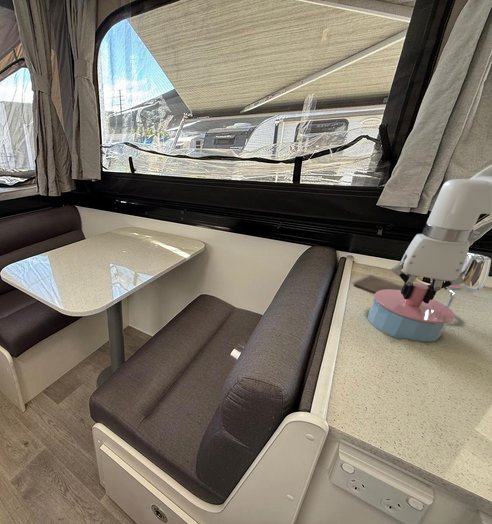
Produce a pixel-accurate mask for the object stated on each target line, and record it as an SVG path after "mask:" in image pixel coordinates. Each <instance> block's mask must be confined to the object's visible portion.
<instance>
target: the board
mask: <svg viewBox="0 0 492 524" xmlns="http://www.w3.org/2000/svg"><path fill="white" fill-rule="evenodd" d="M353 286H354V287H355V288H359V289H361V290H364V291H367V292H368V293H372V294H374V295H375V293H376V292H377V291H380V290H386V289H392V290H402V288H403V286H400V285H397V284H394V283H392V282H389V281H386V280H383V279H380V278H377V277H374V276H370V277H367V278H364V279H362V280H360V281H357V282H355V283H354V284H353Z"/></svg>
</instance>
